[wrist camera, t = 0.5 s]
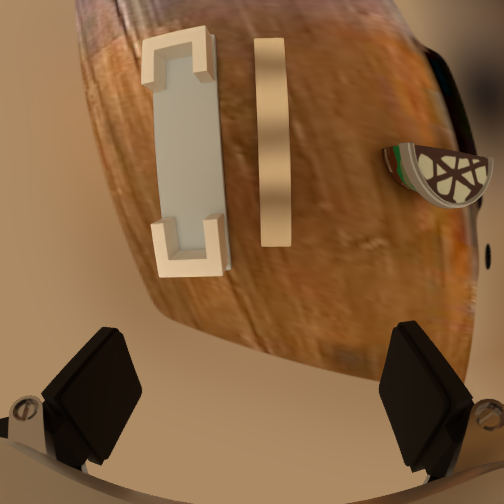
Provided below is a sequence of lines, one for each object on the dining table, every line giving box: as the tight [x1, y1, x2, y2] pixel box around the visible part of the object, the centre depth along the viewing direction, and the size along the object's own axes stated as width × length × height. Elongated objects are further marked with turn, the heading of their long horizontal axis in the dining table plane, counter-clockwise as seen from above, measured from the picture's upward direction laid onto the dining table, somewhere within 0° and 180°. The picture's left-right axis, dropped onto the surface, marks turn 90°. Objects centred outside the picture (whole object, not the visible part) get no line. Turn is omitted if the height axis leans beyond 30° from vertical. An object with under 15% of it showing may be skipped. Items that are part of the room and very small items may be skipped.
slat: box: [254, 38, 291, 247], centre depth 28 cm, size 22×3×6 cm, turn 2°
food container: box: [382, 142, 493, 209], centre depth 25 cm, size 12×6×10 cm, turn 93°
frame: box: [141, 26, 232, 277], centre depth 29 cm, size 30×8×5 cm, turn 4°
